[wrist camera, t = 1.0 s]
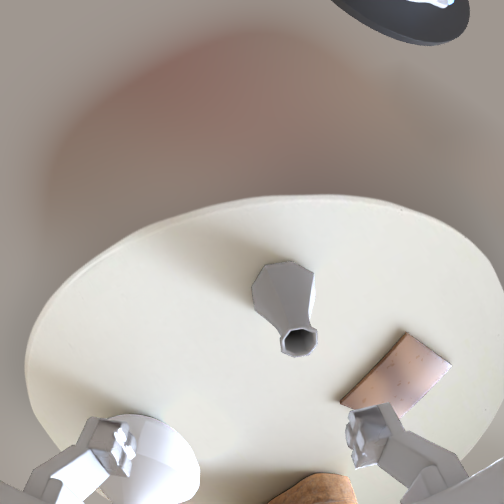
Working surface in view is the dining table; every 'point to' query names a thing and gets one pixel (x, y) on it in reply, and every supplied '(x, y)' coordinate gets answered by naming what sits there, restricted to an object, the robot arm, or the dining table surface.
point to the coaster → (399, 377)
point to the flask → (287, 305)
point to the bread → (319, 491)
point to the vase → (155, 466)
